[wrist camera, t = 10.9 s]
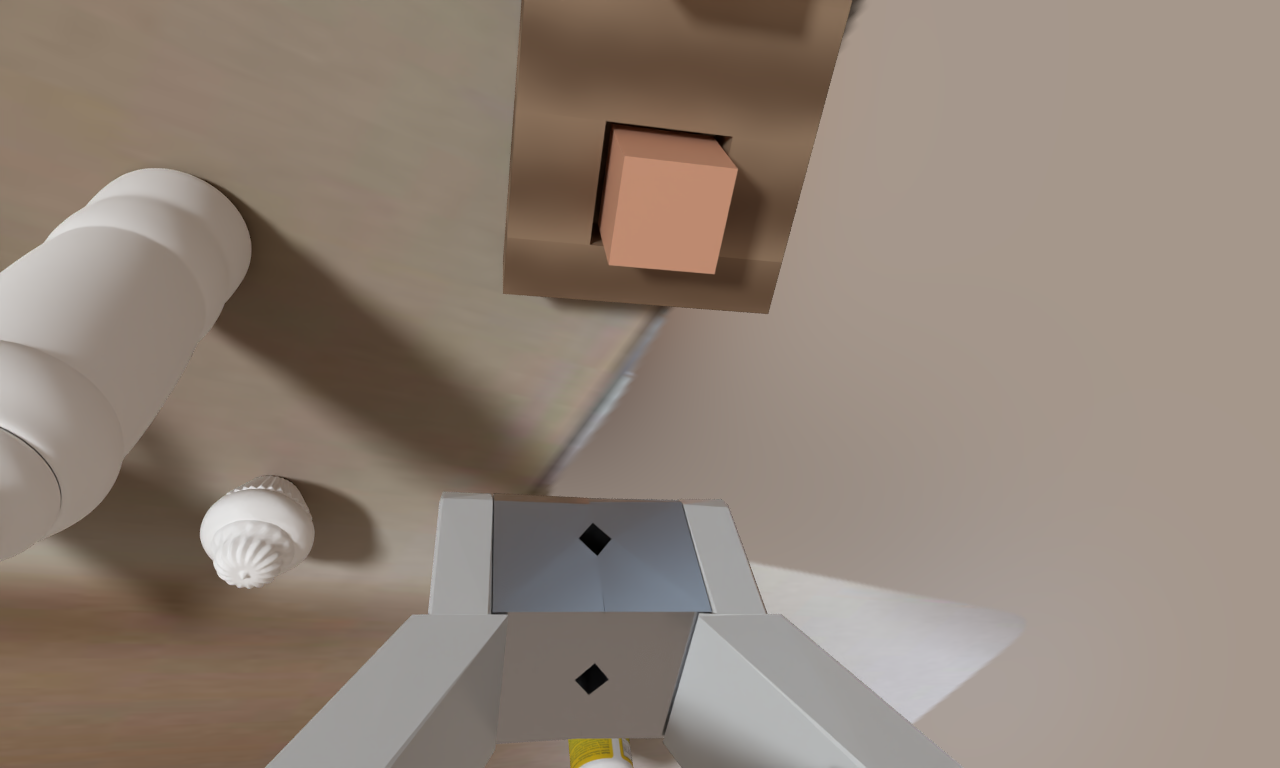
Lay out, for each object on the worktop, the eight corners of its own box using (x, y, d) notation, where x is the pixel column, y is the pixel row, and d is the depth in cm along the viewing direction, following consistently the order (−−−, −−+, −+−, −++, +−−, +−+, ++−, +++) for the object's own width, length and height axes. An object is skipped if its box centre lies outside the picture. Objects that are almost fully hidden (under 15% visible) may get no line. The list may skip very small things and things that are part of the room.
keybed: (544, -314, 31) (549, -336, 27) (878, -237, 34) (919, -248, 30) (502, 260, 43) (503, 293, 40) (748, 281, 46) (768, 313, 43)
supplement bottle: (555, 718, 66) (561, 820, 59) (584, 683, 64) (594, 784, 57) (605, 730, 67) (617, 830, 60) (635, 697, 66) (650, 797, 59)
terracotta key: (611, 123, 38) (624, 155, 34) (712, 136, 39) (738, 169, 35) (598, 223, 40) (608, 264, 36) (693, 233, 41) (714, 274, 37)
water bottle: (284, 233, 41) (57, 617, 20) (202, 321, 43) (-84, 754, 22) (153, 132, 37) (-287, 468, 17) (69, 232, 39) (-419, 646, 18)
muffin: (309, 449, 48) (282, 529, 42) (337, 523, 51) (316, 607, 46) (202, 464, 47) (161, 547, 42) (238, 538, 51) (204, 625, 45)
